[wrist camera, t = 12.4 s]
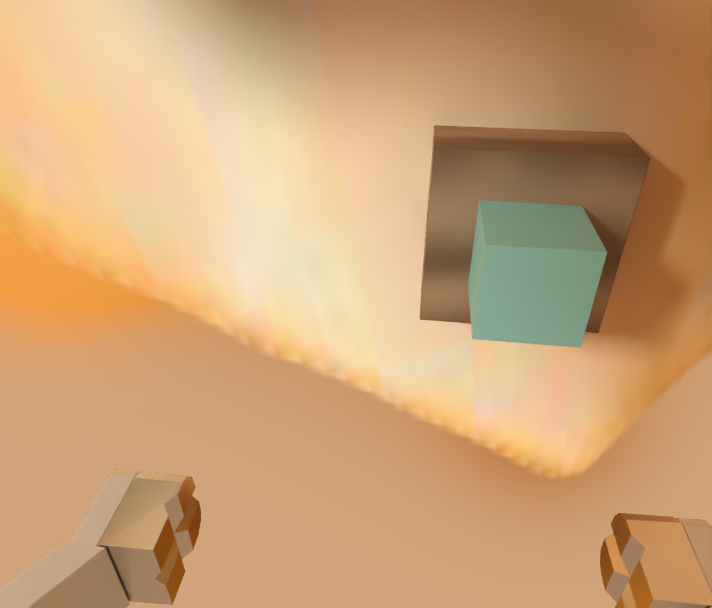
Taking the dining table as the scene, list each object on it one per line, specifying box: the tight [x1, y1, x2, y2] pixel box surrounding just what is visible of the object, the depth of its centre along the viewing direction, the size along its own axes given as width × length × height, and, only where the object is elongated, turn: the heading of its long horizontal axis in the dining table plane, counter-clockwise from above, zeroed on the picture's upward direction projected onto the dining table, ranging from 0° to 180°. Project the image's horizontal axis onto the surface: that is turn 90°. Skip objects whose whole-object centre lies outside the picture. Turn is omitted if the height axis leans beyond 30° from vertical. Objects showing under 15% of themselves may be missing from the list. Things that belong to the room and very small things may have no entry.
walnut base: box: [420, 126, 650, 333], centre depth 37 cm, size 12×12×5 cm
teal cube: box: [468, 200, 607, 347], centre depth 32 cm, size 6×6×6 cm
